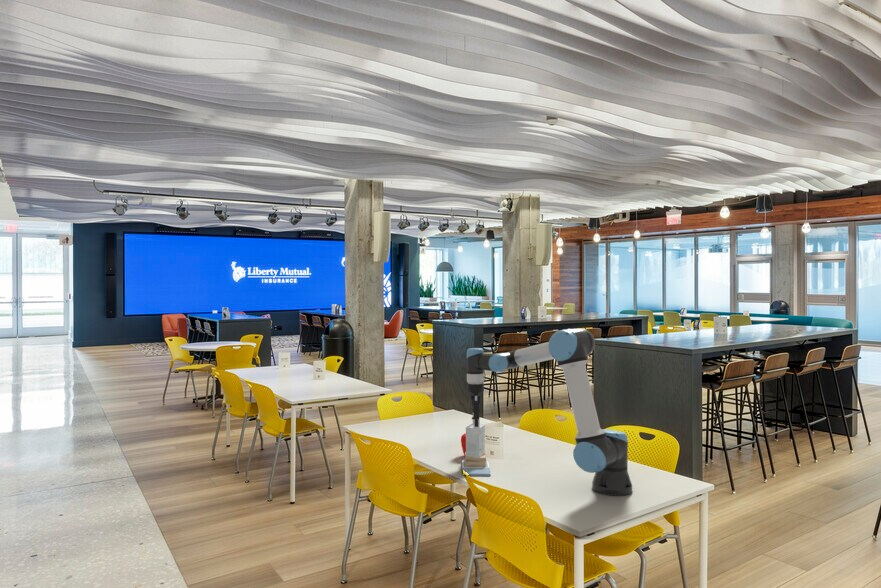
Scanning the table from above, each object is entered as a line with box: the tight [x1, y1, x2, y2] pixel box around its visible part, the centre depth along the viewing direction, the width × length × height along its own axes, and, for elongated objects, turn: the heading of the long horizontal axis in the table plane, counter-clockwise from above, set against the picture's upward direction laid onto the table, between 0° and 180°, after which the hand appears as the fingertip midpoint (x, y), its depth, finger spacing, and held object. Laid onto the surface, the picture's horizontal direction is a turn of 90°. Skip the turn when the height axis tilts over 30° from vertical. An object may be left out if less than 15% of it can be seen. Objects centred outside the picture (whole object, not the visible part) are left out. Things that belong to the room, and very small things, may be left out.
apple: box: [460, 432, 466, 456], centre depth 277 cm, size 9×9×11 cm
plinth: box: [464, 452, 487, 467], centre depth 261 cm, size 9×9×4 cm
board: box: [461, 459, 491, 477], centre depth 257 cm, size 20×12×1 cm, turn 178°
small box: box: [465, 423, 486, 458], centre depth 260 cm, size 8×6×13 cm
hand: (476, 430), depth 260 cm, fingers open, 13 cm apart
